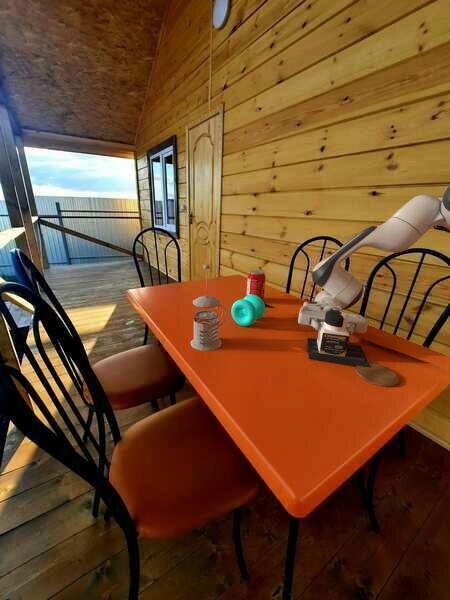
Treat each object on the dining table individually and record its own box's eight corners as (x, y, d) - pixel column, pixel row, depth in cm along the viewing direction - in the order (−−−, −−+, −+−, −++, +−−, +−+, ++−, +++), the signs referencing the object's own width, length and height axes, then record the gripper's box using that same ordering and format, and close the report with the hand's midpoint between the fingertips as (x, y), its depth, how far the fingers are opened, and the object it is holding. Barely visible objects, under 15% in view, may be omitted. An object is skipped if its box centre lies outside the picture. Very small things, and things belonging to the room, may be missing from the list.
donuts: (265, 321, 97) (267, 296, 94) (253, 330, 89) (255, 304, 86) (242, 315, 102) (244, 291, 99) (229, 323, 94) (230, 298, 91)
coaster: (404, 376, 66) (404, 374, 66) (391, 392, 60) (391, 391, 60) (364, 359, 73) (364, 358, 73) (348, 372, 67) (349, 371, 67)
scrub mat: (360, 348, 80) (361, 344, 80) (370, 369, 69) (370, 365, 69) (307, 340, 84) (308, 337, 84) (308, 359, 73) (309, 355, 73)
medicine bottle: (319, 353, 74) (325, 315, 70) (316, 341, 80) (322, 306, 76) (345, 357, 72) (353, 318, 68) (340, 345, 79) (348, 309, 75)
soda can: (242, 304, 115) (244, 271, 110) (252, 300, 120) (255, 268, 115) (256, 308, 110) (259, 274, 105) (266, 304, 115) (269, 272, 110)
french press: (184, 340, 81) (183, 262, 73) (215, 331, 87) (216, 259, 79) (200, 354, 73) (200, 269, 65) (232, 343, 80) (236, 265, 72)
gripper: (360, 326, 85) (370, 345, 72) (297, 317, 90) (296, 334, 77) (364, 308, 83) (376, 325, 70) (299, 301, 88) (299, 315, 75)
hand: (333, 330), depth 74 cm, fingers closed on medicine bottle, 7 cm apart
